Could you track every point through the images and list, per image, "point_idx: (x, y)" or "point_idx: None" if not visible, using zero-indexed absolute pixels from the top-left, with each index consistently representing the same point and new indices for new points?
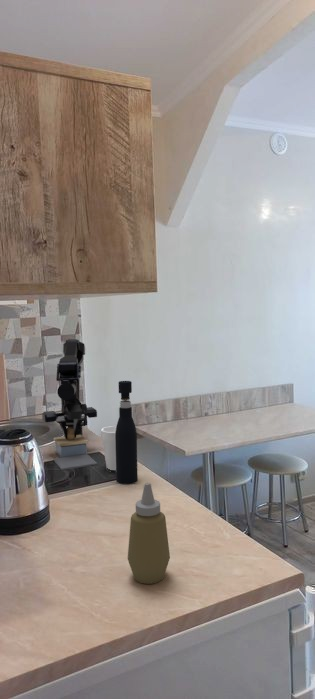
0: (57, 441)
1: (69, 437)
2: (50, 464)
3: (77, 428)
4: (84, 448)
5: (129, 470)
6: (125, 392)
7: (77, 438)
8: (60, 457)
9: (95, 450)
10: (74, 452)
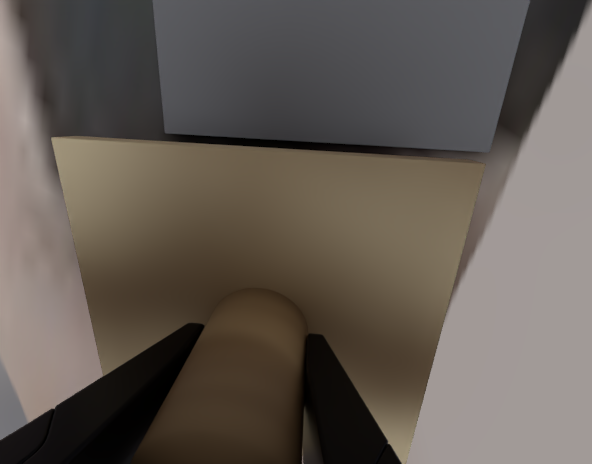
0: (441, 322)
1: (280, 319)
2: (571, 25)
3: (64, 421)
4: None
5: None
6: None
7: (173, 319)
8: (419, 146)
9: None
10: None
